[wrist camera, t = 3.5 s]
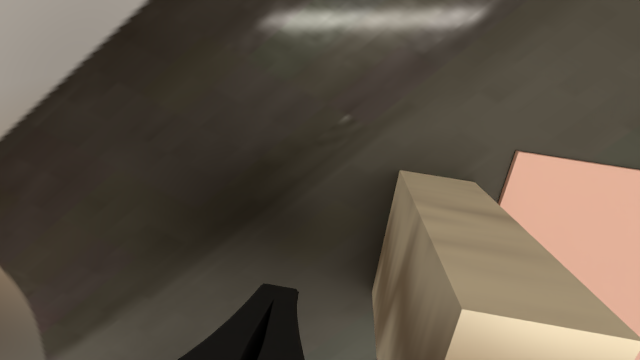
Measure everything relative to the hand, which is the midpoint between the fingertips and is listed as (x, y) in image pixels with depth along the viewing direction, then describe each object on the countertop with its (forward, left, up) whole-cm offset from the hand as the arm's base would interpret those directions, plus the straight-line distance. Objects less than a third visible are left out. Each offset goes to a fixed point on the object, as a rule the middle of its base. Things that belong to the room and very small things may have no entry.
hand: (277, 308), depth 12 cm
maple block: (0, -7, -8) cm, 10 cm away
